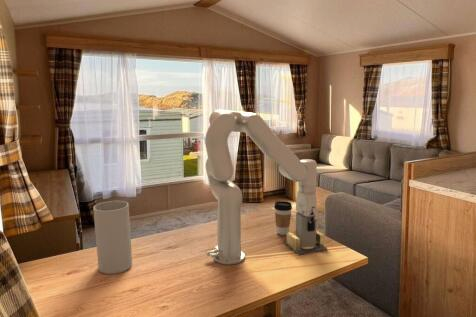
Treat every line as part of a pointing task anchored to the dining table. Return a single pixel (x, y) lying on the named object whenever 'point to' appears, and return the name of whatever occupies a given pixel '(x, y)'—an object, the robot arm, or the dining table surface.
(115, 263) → the cylinder vase
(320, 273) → the dining table surface
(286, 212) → the coffee cup
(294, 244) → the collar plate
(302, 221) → the perfume bottle
